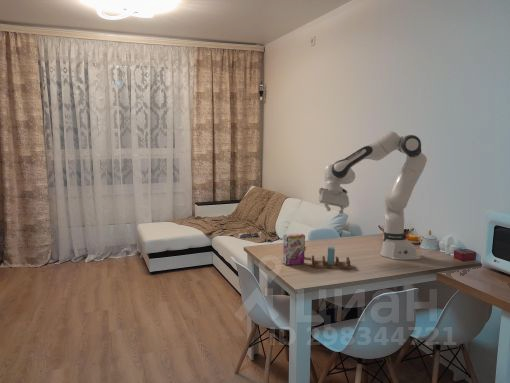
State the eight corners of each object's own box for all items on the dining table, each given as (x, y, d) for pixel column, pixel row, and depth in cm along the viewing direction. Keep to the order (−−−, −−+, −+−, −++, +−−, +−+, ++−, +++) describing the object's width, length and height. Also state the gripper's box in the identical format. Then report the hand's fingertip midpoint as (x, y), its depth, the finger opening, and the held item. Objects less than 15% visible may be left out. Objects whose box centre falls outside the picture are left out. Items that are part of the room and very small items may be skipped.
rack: (348, 264, 228) (348, 256, 227) (350, 269, 218) (350, 262, 217) (311, 262, 230) (312, 255, 229) (311, 267, 220) (312, 260, 220)
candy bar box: (286, 266, 223) (287, 236, 221) (282, 263, 228) (283, 234, 225) (304, 263, 227) (305, 234, 225) (300, 261, 232) (301, 232, 230)
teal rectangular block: (333, 262, 225) (334, 246, 224) (334, 265, 221) (334, 248, 220) (327, 262, 226) (327, 246, 225) (327, 264, 222) (328, 248, 221)
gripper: (322, 185, 240) (324, 207, 234) (349, 191, 249) (352, 213, 243) (315, 189, 245) (317, 210, 239) (342, 195, 254) (345, 216, 248)
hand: (335, 212), depth 241 cm, fingers open, 8 cm apart
